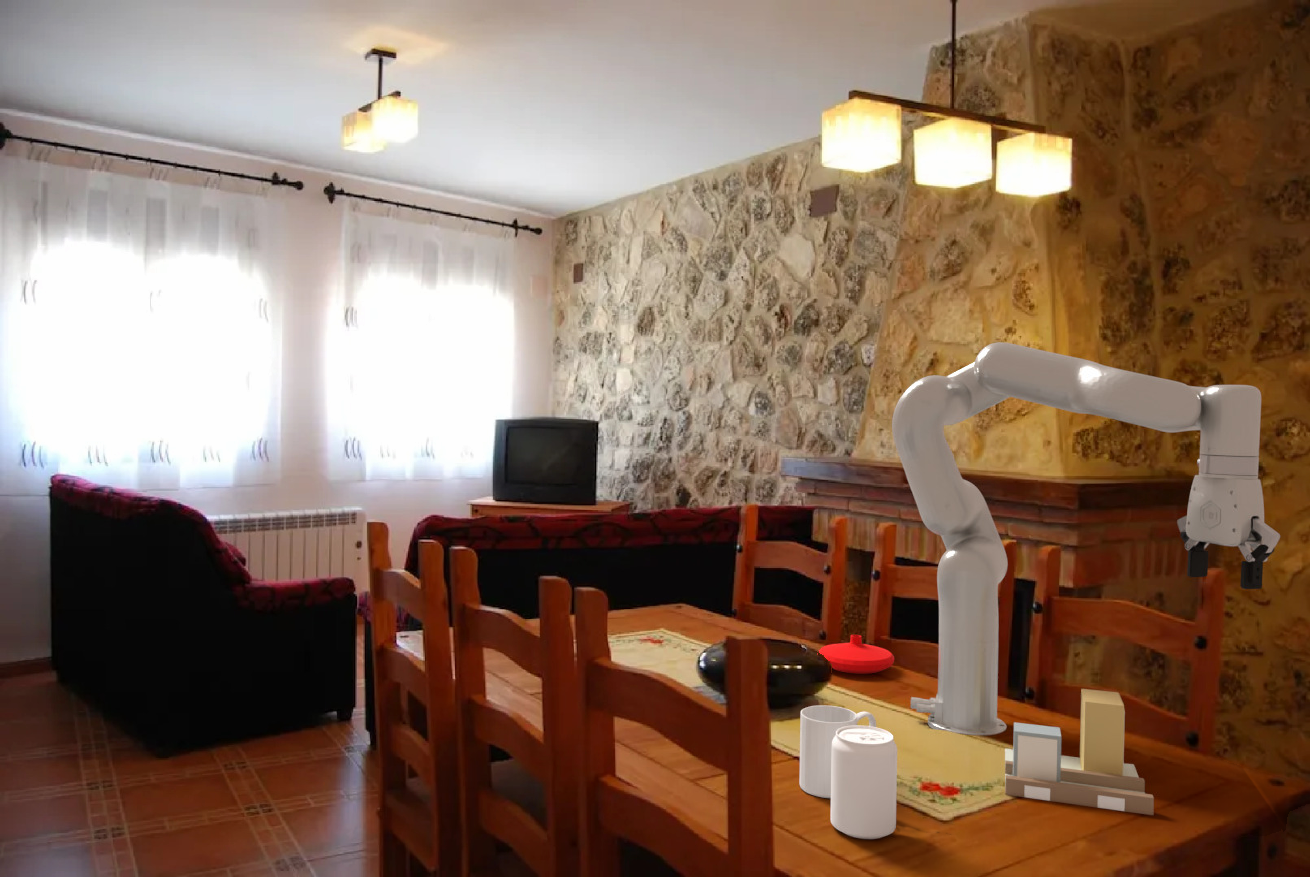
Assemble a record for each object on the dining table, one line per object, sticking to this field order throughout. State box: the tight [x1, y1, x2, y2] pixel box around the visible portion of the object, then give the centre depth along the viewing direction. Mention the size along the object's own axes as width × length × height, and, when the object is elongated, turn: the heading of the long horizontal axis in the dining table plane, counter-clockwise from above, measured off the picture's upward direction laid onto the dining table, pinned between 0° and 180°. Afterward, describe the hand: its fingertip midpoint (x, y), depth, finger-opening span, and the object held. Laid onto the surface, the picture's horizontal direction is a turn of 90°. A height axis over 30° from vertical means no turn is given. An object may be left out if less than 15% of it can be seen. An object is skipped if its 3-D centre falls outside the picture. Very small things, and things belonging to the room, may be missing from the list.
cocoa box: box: [1012, 721, 1062, 782], centre depth 131 cm, size 6×4×8 cm
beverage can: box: [830, 724, 898, 840], centre depth 119 cm, size 8×8×12 cm
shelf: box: [1004, 748, 1155, 816], centre depth 134 cm, size 18×19×3 cm
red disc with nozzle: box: [818, 634, 895, 675], centre depth 196 cm, size 16×16×7 cm
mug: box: [798, 704, 877, 799], centre depth 133 cm, size 12×8×10 cm, turn 117°
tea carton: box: [1079, 688, 1126, 776], centre depth 137 cm, size 7×5×11 cm
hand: (1223, 582), depth 140 cm, fingers open, 9 cm apart
